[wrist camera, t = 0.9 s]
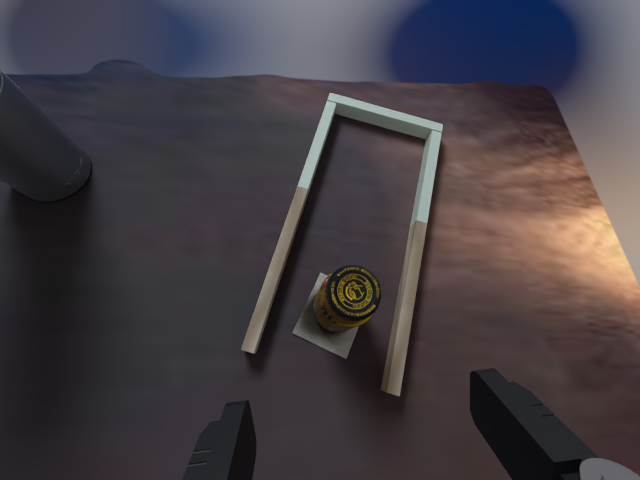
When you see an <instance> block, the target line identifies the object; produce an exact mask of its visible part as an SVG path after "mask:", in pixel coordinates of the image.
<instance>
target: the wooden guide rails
mask: <svg viewBox="0 0 640 480" xmlns="http://www.w3.org/2000/svg"><path fill="white" fill-rule="evenodd" d="M307 194H308V189H306V188H302V187H299V186H297V189H296V192H295V195H294V198H293V201H292V204H291V207H290V209H289V212H288V215H287V218H286V221H285V224H284V227H283V230H282V232H281V235H280V238H279V241H278V244H277V247H276V250H275V253H274V256H273V258H272V261H271V264H270V267H269V270H268V273H267V276H266V279H265V281H264V284H263V287H262V290H261V293H260V296H259V299H258V302H257V304H256V307H255V310H254V313H253V316H252V319H251V322H250V325H249V328H248V330H247V333H246V336H245V339H244V342H243V345H242V348H241V350H244V351H247V352H250V353H256V352H257V349H258V346H259V343H260V340H261V337H262V334H263V331H264V328H265V325H266V322H267V319H268V315H269V312H270V309H271V306H272V303H273V300H274V297H275V294H276V291H277V288H278V285H279V282H280V279H281V276H282V273H283V270H284V267H285V264H286V261H287V258H288V255H289V252H290V248H291V245H292V242H293V239H294V236H295V233H296V230H297V227H298V224H299V221H300V218H301V215H302V212H303V209H304V206H305V203H306V200H307ZM426 228H427V223H425V222H421V221H418V220H416V221H415V222H414V224H413V225H412V226H411V227H410V230H409V236H408V241H407V247H406V252H405V258H404V263H403V269H402V274H401V280H400V285H399V291H398V297H397V302H396V308H395V313H394V319H393V324H392V330H391V335H390V341H389V346H388V352H387V357H386V363H385V369H384V374H383V380H382V385H381V390H382V391H384V392H386V393H390V394H393V395H396V396H400V391H401V385H402V379H403V372H404V366H405V360H406V353H407V347H408V341H409V335H410V328H411V322H412V316H413V309H414V303H415V297H416V291H417V284H418V278H419V272H420V265H421V259H422V253H423V247H424V240H425V234H426Z"/></svg>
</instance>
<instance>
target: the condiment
mask: <svg viewBox="0 0 640 480" xmlns="http://www.w3.org/2000/svg"><path fill="white" fill-rule="evenodd" d="M380 299H381V291H380V284H379V282H378V280H377V279H376V278H375V276H374V275H373V274H372V273H371V272H370V271H369V270H367V269H365V268H363V267H361V266H357V265H349V266H343V267H341V268H339V269H337V270H336V271H334V272H332V273H331V274H330V275H328V276H327V275H325V274H322V273H320V275H319V277H318V279H317V281H316V284H315V286H314V288H313V290H312V292H311V294H310V296H309V299H308V301H307V303H306V305H305V307H304V309H303V311H302V313H301V316H300V318H299V320H298V322H297V324H296V326H295V328H294V331H293V334H295V335H297V336H299V337H302V338H304V339H306V340H308V341H310V342H312V343H314V344H316V345H318V346H320V347H322V348H324V349H326V350H328V351H330V352H332V353H335V354H337V355H339V356H341V357H343V358H345V359H347V356H348V354H349V351H350V348H351V346H352V343H353V340H354V338H355V336H356V333H357V330H358V328H359V326H360V325H363V324H364V323H365V322H366V321H368V320H369V319H370V318H371V317H372V315H373V314H374V313H375V311H376V309H378V306H379V303H380ZM312 314H313V315H312ZM339 333H340V335H338V334H339ZM335 335H337V336H336V337H335Z"/></svg>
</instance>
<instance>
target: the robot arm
mask: <svg viewBox="0 0 640 480" xmlns="http://www.w3.org/2000/svg"><path fill="white" fill-rule="evenodd" d="M90 171H91V162H90V159H89V157H88V155H87V154H86V153H85V152H84V151H83V150H82V149H81V148H80V147H79V146H78V145H77V144H76V143H75V142H74V141H73V140H72V139H71V138H70V137H69V136H68V135H67V134H66V133H65V132H64V131H63V130H62V129H61V128H60V127H59V126H58V125H57V124H56V123H55V122H54V121H53V120H52V119H51V118H50V117H49V116H48V115H46V114H45V113H44V112H43V111H42V110H41V109H40V108H39V107H38V106H37V105H36V104H35V103H34V102H33V101H32V100H31V99H30V98H29V97H28V96H27V95H26V94H25V93H24V92H23V91H22V90H21V89H20V88H19V87H18V86H17V85H16V84H15V83H14V82H12V81H11V80H10V79H9V78H8V77H7V76H6V75H5V74H4V73H3V72H2V71H1V70H0V181H2V182H3V183H5V184H7V185H9V186H10V187H12V188H14V189H16V190H17V191H19V192H21V193H22V194H24V195H26V196H28V197H29V198H31V199H34V200H37V201H45V202H47V201H56V200H60V199H63V198H65V197H68V196H70V195H72V194H73V193H75V192H76V191H78V190H79V189H80V188H81V187H82V186H83V185H84V184H85V182H86V181H87V179H88V177H89V175H90ZM470 411H471V415H472V418H473V421H474V423H475V425H476V427H477V428H478V430H479V431H480V433H481V434H482V435H483V437H484V438H485V440H486V441H487V443H488V444H489V446H490V447H491V449H492V450H493V452H494V453H495V455H496V456H497V458H498V459H499V461H500V462H501V463H502V465H503V466H504V468H505V469H506V471H507V472H508V474H509V475H510V477H511V478H512V480H640V477H639V476H638V475H637V474H635V473H634V472H632V471H631V470H629V469H627V468H626V467H624V466H622V465H620V464H618V463H615V462H612V461H609V460H606V459H601V458H599V457H598V456H596V455H595V454H594V453H593V452H592V451H591V450H590V449H589V448H588V447H587V446H586V445H585V444H584V443H583V442H582V441H581V440H580V439H579V438H578V437H577V436H576V435H575V434H574V433H573V432H572V431H571V430H570V429H569V428H568V427H567V426H566V425H565V424H563V423H562V422H561V421H560V420H559V419H558V418H557V417H555V416H554V414H553V413H552V412H551V411H550V410H549V409H548V408H547V407H546V406H544V405H543V403H542V402H541V401H540V400H539V399H538V398H537V397H536V396H535V395H534V394H533V393H532V392H531V391H529V390H527V389H526V388H524V387H522V386H520V385H519V384H517V383H515V382H508V381H507V380H506V379H505V378H504V377H503V376H502V375H501V374H500V373H499V372H498V371H497V370H496V369H494V368H491V369H483V370H476V371H472V372H471V374H470ZM255 458H256V435H255V429H254V424H253V419H252V413H251V408H250V404H249V401H248V400H246V401H239V402H231V403H227V404H226V405H225V407H224V410H223V413H222V416H221V419H220V421H213V422H210V423H209V425H208V426H207V427H206V428H205V429H204V431H203V432H202V433H201V434H200V436H199V438H198V441H197V443H196V446H195V449H194V453H193V454H192V456H191V459H190V461H189V466H188V467H187V469H186V472H185V474H184V477H183V480H252V477H253V471H254V464H255Z"/></svg>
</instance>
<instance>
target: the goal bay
mask: <svg viewBox="0 0 640 480" xmlns="http://www.w3.org/2000/svg"><path fill="white" fill-rule="evenodd" d="M334 114H337V115H341V116H345V117H348V118H352V119H355V120H359V121H362V122H366V123H369V124H373V125H376V126H380V127H383V128H387V129H390V130H394V131H398V132H401V133H405V134H408V135H412V136H415V137H419V138H422V139H426V142H425V147H424V153H423V158H422V164H421V169H420V175H419V180H418V186H417V191H416V197H415V202H414V208H413V214H412V219H411V225H410V227H411V226H412V225H413V224H414V222H415V221H416V220H418V221H421V222H425V223H427V221H428V215H429V209H430V202H431V196H432V190H433V184H434V177H435V171H436V165H437V158H438V152H439V146H440V140H441V132H442V127H443V124H440V123H436V122H433V121H429V120H426V119H422V118H419V117H415V116H412V115H408V114H404V113H401V112H397V111H394V110H390V109H387V108H383V107H380V106H376V105H373V104H369V103H365V102H362V101H358V100H355V99H351V98H348V97H344V96H341V95H337V94H334V93H330V94H329V97H328V100H327V103H326V106H325V109H324V111H323V114H322V117H321V120H320V123H319V126H318V129H317V132H316V134H315V137H314V140H313V143H312V146H311V149H310V152H309V155H308V158H307V160H306V163H305V166H304V169H303V172H302V175H301V178H300V181H299V183H298V186H299V187H302V188H306V189H308V194H309V191H310V188H311V185H312V181H313V178H314V175H315V172H316V169H317V166H318V163H319V160H320V157H321V154H322V151H323V148H324V145H325V142H326V139H327V136H328V133H329V130H330V127H331V124H332V121H333V118H334ZM308 194H307V197H308Z"/></svg>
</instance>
